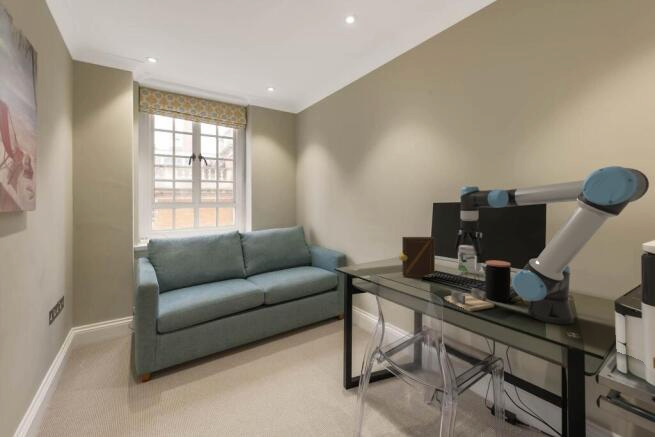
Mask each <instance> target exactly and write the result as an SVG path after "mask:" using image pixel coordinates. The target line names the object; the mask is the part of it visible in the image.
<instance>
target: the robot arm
mask: <svg viewBox="0 0 655 437" xmlns="http://www.w3.org/2000/svg"><path fill="white" fill-rule="evenodd" d="M649 187H650V181H649V178H648V177H647V176H646V174H645V173H644V172H642V171H641V170H638V169H637V168H636V169H635V168H631V167H623V166H617V165H615V166H614V165H613V166H607V167H602V168H599V169H596V170H594V171H593V172H591V173H590V174H588V175H587V176H586V178H585V179H584V180H577V181H568V182H567V181H566V182H560V183H552V184H545V185H537V186H536V185H535V186H529V187H521V188H513V189H488V190H480V188H479V186H464V187H461V189H460V195H459V196H460V227H459V228H461V229H460V230H459V229H458V230H456V236H455V242H454V246H453V249H454V250H455V251H456V252H457V255H456V256H457V261H458V260H459V246H460V245H467V242H468V241H469V242H470V243H471V245H473V247H474V250H475V252H476V255H475V270H482V266H481V264H482V263H483V262H482V260H483V259H482V258H483V256H485V255H486V254H487V250H486V246H485V242H484V232H478V229H479V220H478V219H479V208H494V209H495V208H496V209H497V208H504V207H509V208H510V207H511V208H512V207H517V206H518V207H519V206H529V205H531V206H532V205H542V204H543V205H544V204H555V203H557V204H558V203H567V202H577V204H578V205H577V206H576V207H575V209H573V211H572V212H571V213H570V214H569V216H568V217H567V219H566V220H565V222H564V223H563V224H562V225H561V227H560V228H559V229H558V231H557V232H556V233H555V235H554V236H553V237H552V239H551V240H550V241H549V242H548V244H547V245H546V246H545V248H544V249H543V250H542V251H541V253H539V256H538V257H536V258H531V259H529V261H528V262H527V263H526V265H525V266H524V267H523V269H521V270H518V271H517V272H516V273H514V274H513V276H512V279H511V285H512V287H513V290H514V292H516V294H517V295H518V296H519V297H520V298H522V299H524V300H527V301H530V302H529V303H528V307H527V311H526V312H527V315H528V316H529V317H532V318H533V319H535V320H538V321H541V322H545V323H549V324H556V325H570V324H573V323H574V318H575V317H574V314H573V312H572V311H573V310H572V308H571V305H570V302H569V295H570V294H569V293H570V277H571V272H570V271H571V270H570V266H569V265H570V264H571V262H573V260H574V259H575V258H576V256H577V255H578V254H579V253H580V252H581V250H582V249H583V248H584V247H585V246H586V245H587V244H588V242H589V241H590V240H591V239H592V238H593V236H594V235H595V234H596V233H597V232H598V230H599V229H600V228H601V227H602V226H603V225H604V224H605V222H606V221H607V220H608V219H609V218H613V217H619V215H620V214H621V212H622V211H624V210H625V208H626V207H627V206H628V205H629V204H630V203H632V202H636V201H638V200H639V199H641V198H643V196H644V195H646V194H647V192H648V190H649Z"/></svg>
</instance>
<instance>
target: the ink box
mask: <svg viewBox="0 0 655 437" xmlns="http://www.w3.org/2000/svg"><path fill="white" fill-rule="evenodd" d="M475 255H476V252H475V250H474V247H473V245H472V244H465V245H460V246H459V260H458V259H457V266H458V268H457V270H458V271H461V272H462V271H463V272H471V273H475V274H476V273H479V272H480V270H475Z"/></svg>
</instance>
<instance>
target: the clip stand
mask: <svg viewBox="0 0 655 437" xmlns="http://www.w3.org/2000/svg"><path fill="white" fill-rule="evenodd" d="M470 293H471V294H470ZM470 293H468V292H466V293H460V292H458V291H455V290H452V291H451V295H446V296H444V299H445V301H446V300H447V302H448V301H449V303H451V304H454V305H456V306H457V307H460V308H461V307H462V309H463V308H464V310H466V311H468V312H475V311H480V310H485V309H492V308H495V303H493V302H491V301H488V300H487V297H486V292H485V291H484V290H480V289H477V288H476V287H475V288H474V287H473V288H471V292H470Z"/></svg>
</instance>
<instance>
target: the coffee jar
mask: <svg viewBox="0 0 655 437" xmlns="http://www.w3.org/2000/svg"><path fill="white" fill-rule="evenodd" d="M511 265H512V264H511V262H508V261H504V260H492V259H491V260H485V273H484V274H485V275H484V276H485V277H484V278H485V280H484V281H485V283H484V292H486V299H488V300H490V301H492V302H498V303H500V302H501V303H504V302H508V301H509V300H510V298H511V274H512V273H511V270H512V269H511Z"/></svg>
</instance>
